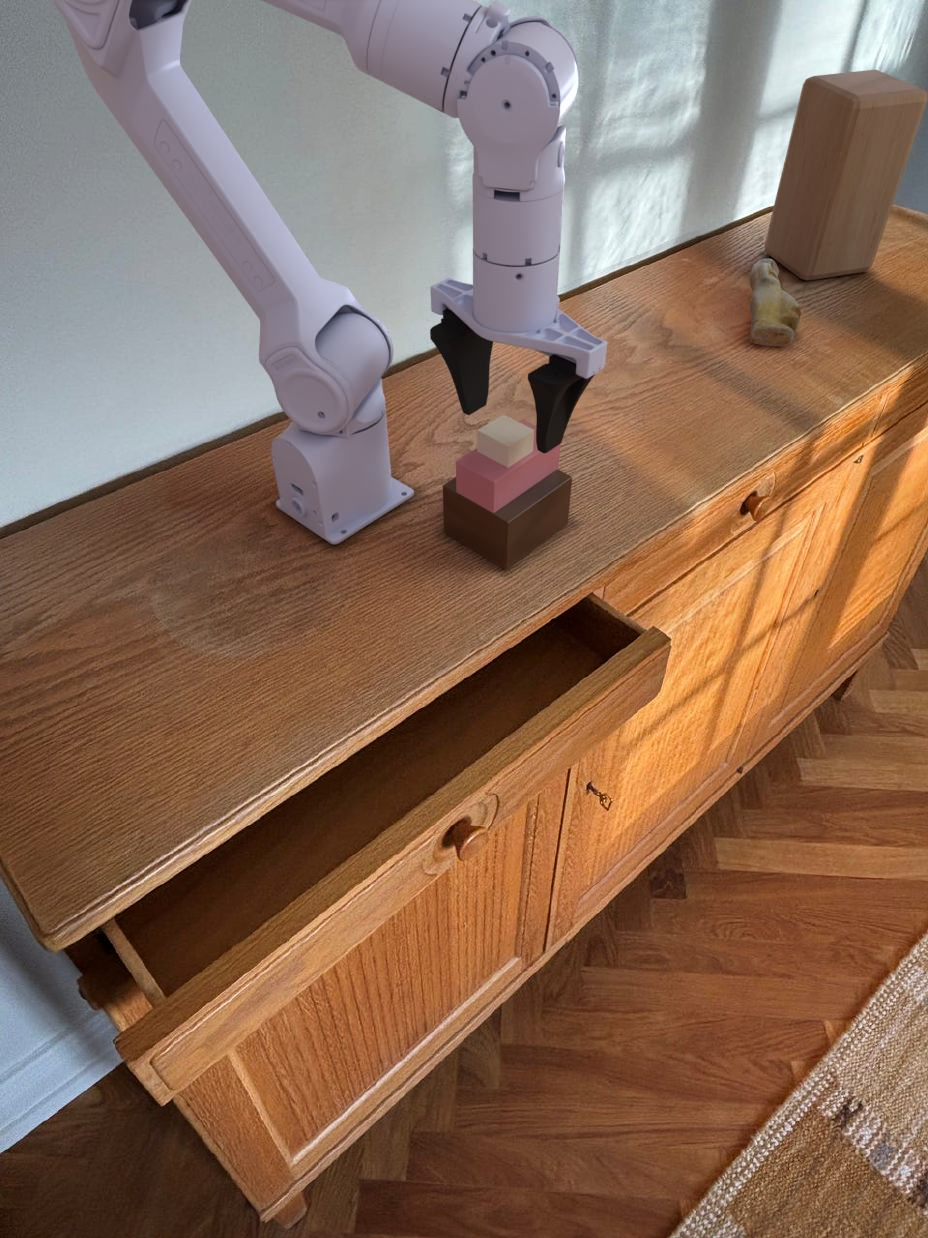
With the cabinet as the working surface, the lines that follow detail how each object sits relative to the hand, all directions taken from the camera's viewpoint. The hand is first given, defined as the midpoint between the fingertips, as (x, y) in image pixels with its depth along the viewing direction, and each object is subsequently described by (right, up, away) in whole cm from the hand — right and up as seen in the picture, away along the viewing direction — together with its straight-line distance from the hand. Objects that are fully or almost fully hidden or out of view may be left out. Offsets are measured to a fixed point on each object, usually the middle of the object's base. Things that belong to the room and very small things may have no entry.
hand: (511, 427), depth 66 cm
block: (+41, +30, +43) cm, 67 cm away
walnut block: (0, -7, +7) cm, 10 cm away
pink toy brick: (0, -3, +4) cm, 5 cm away
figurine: (+31, +20, +33) cm, 50 cm away
